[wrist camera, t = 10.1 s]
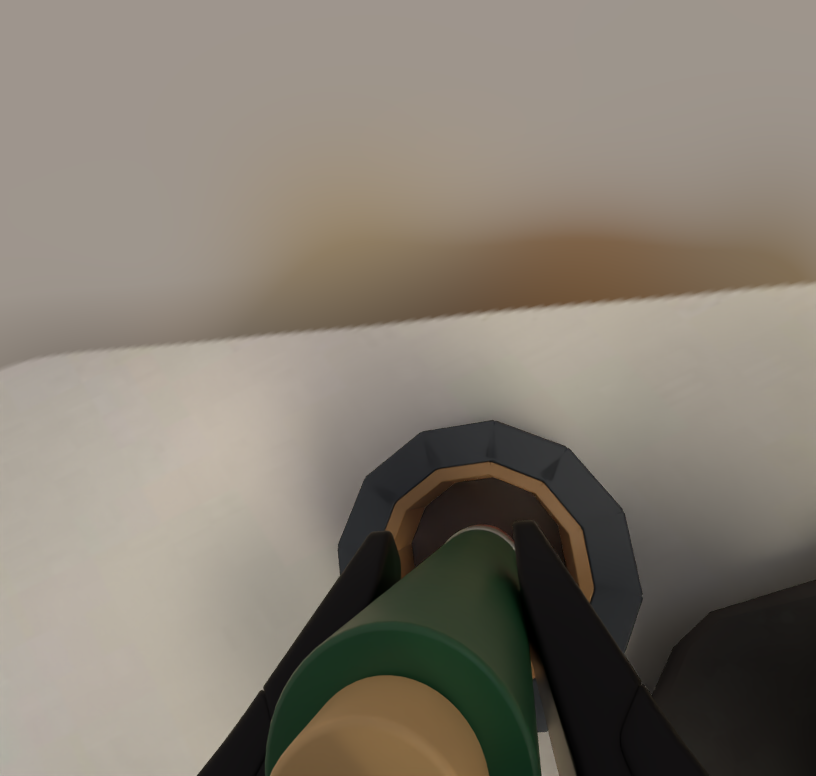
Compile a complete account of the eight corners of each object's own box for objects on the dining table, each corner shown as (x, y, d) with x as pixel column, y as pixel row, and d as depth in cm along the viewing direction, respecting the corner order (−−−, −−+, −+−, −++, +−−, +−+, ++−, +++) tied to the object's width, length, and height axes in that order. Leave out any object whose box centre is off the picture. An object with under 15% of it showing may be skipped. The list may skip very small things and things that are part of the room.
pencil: (534, 591, 16) (646, 1183, 2) (458, 611, 16) (180, 1227, 3) (508, 513, 16) (480, 628, 3) (435, 533, 17) (116, 721, 3)
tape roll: (669, 583, 16) (710, 608, 13) (469, 739, 17) (458, 803, 13) (501, 389, 19) (498, 367, 15) (328, 529, 19) (288, 539, 16)
